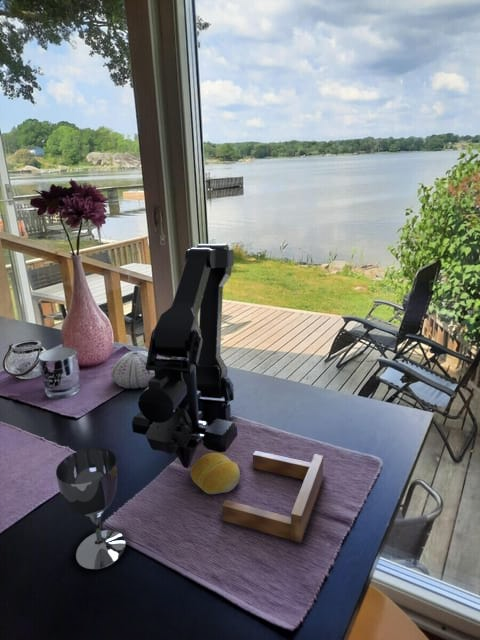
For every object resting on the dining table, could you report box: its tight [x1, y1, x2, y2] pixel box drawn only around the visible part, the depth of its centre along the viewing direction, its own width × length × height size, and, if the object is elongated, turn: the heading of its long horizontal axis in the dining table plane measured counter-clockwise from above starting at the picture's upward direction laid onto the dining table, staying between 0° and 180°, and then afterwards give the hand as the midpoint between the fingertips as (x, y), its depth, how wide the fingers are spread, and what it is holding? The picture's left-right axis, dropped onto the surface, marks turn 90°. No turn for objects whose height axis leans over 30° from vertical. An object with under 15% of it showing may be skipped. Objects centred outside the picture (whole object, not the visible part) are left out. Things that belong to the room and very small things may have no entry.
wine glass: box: [55, 447, 127, 570], centre depth 63 cm, size 8×8×15 cm
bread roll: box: [190, 452, 241, 495], centre depth 79 cm, size 8×9×4 cm
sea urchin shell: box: [110, 350, 155, 390], centre depth 117 cm, size 13×14×8 cm
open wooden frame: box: [221, 450, 324, 543], centre depth 74 cm, size 13×15×5 cm
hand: (187, 466), depth 81 cm, fingers closed
